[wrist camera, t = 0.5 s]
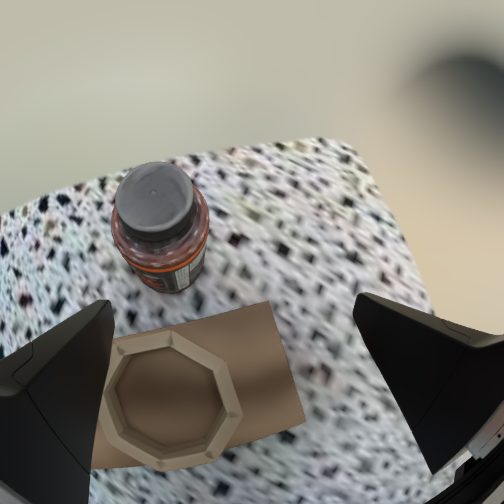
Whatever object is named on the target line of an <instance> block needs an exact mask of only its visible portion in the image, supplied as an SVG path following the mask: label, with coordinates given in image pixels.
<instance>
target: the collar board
mask: <svg viewBox="0 0 504 504" xmlns="http://www.w3.org/2000/svg"><path fill="white" fill-rule="evenodd" d="M303 422H306V419H305V416H304V413H303V409H302V406H301V403H300V400H299V397H298V393H297V390H296V387H295V384H294V380H293V377H292V374H291V371H290V368H289V364H288V361H287V358H286V355H285V352H284V348H283V345H282V342H281V339H280V336H279V332H278V329H277V326H276V323H275V319H274V316H273V313H272V310H271V307H270V303H269V301H265V302H262V303H258V304H255V305H251V306H248V307H244V308H240V309H237V310H233V311H229V312H225V313H222V314H218V315H214V316H210V317H206V318H202V319H198V320H194V321H190V322H186V323H182V324H178V325H173V326H169V327H165V328H160V329H156V330H152V331H147V332H142V333H138V334H133V335H128V336H124V337H119V338H114V339H113V342H112V349H111V357H110V364H109V369H108V373H107V377H106V381H105V386H104V391H103V395H102V400H101V405H100V410H99V416H98V421H97V427H96V433H95V440H94V447H93V454H92V463H91V469H110V468H124V467H135V466H144V465H147V466H149V467H151V468H153V469H155V470H157V471H159V472H160V470H161V472H165V471H171V470H177V469H183V468H188V467H193V466H198V465H202V464H207V463H211V462H215V460H217V459H218V457H219V456H220V454H221V452H222V451H223V450H225V449H229V448H232V447H236V446H239V445H243V444H246V443H249V442H252V441H255V440H258V439H261V438H264V437H267V436H270V435H273V434H275V433H278V432H281V431H283V430H286V429H289V428H291V427H294V426H296V425H299V424H301V423H303Z"/></svg>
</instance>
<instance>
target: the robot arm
mask: <svg viewBox="0 0 504 504" xmlns="http://www.w3.org/2000/svg"><path fill="white" fill-rule="evenodd" d="M353 318H354V320H355V322H356V325H357V327H358V329H359V331H360V334H361V336H362V338H363V340H364V343H365V345H366V347H367V349H368V351H369V352H370V354H371V356H372V358H373V360H374V361H375V363H376V365H377V367H378V369H379V370H380V372H381V374H382V376H383V378H384V379H385V381H386V383H387V385H388V387H389V389H390V391H391V392H392V394H393V396H394V398H395V400H396V402H397V404H398V406H399V408H400V410H401V412H402V413H403V415H404V417H405V419H406V421H407V423H408V425H409V427H410V429H411V431H412V434H413V436H414V438H415V440H416V442H417V444H418V446H419V448H420V450H421V452H422V454H423V456H424V459H425V461H426V463H427V465H428V467H429V469H430V472H431V473H432V475H434V474H436V473H437V472H439V471H440V470H442V469H443V468H445V467H446V466H448V465H449V464H450V463H452V462H453V461H454V460H456V459H457V458H458V457H460V456H461V455H462V454H464V453H465V452H466V451H467V450H469V452H470V453H471V454H472V457H471V458H470V459H468V460H467V461H466V462H464V463H463V464H462V465H461V466H460V467H459V468H458V469H457V470H456V472H455V478H454V483H453V484H452V485H450V486H449V487H448V488H446V489H445V490H444V491H442V492H441V493H440V494H438V495H437V496H435V497H434V498H432V499H431V500H429V501H428V502H426V503H425V504H504V334H503V335H492V334H488V333H485V332H481V331H478V330H475V329H471V328H468V327H465V326H462V325H459V324H455V323H453V322H450V321H447V320H444V319H440V318H439V317H436V316H433V315H430V314H427V313H425V312H422V311H419V310H416V309H413V308H411V307H408V306H405V305H402V304H399V303H397V302H394V301H391V300H388V299H385V298H382V297H380V296H377V295H374V294H371V293H368V292H365V293H359V294H358V295H357V298H356V301H355V305H354V309H353ZM114 328H115V321H114V316H113V311H112V306H111V302H110V301H109V300H97V301H95V302H94V303H92V304H90V305H89V306H87V307H85V308H84V309H82V310H81V311H79V312H77V313H76V314H74V315H72V316H71V317H69V318H67V319H66V320H64V321H63V322H61V323H59V324H58V325H56V326H55V327H53V328H51V329H50V330H48V331H47V332H45V333H44V334H42V335H40V336H39V337H37V338H36V339H34V340H33V341H32V342H29V343H28V344H26V345H25V346H23V347H22V348H20V349H18V350H17V351H15V352H14V353H12V354H10V355H8V356H7V357H5V358H3V359H1V360H0V504H88V499H89V485H90V472H91V463H92V454H93V447H94V440H95V433H96V427H97V421H98V416H99V410H100V405H101V400H102V395H103V391H104V386H105V381H106V377H107V373H108V369H109V364H110V357H111V349H112V342H113V335H114Z"/></svg>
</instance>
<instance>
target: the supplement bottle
mask: <svg viewBox="0 0 504 504" xmlns="http://www.w3.org/2000/svg"><path fill="white" fill-rule="evenodd" d="M208 229H209V212H208V206H207V204H206V201H205V199H204V197H203V196H202V194H201V193H200V191H199V190H198V189H197V188H196V187H195V186H194V185H193V184H192V182H191V180H190V178H189V177H188V175H187V174H186V173H185V172H184V171H183V170H182V169H181V168H179V167H177V166H175V165H173V164H171V163H167V162H150V163H146V164H143V165H140V166H138V167H136V168H134V169H133V170H131V171H130V172H129V173H128V174H127V175H126V176H125V177H124V178H123V180H122V181H121V182H120V184H119V186H118V189H117V192H116V196H115V206H114V208H113V211H112V216H111V231H112V236H113V239H114V242H115V244H116V246H117V248H118V250H119V251H120V253H121V254H122V256H123V257H124V258H125V260H126V261H127V262H128V264H129V265H130V266H131V268H132V269H133V270H134V272H135V273H136V274H137V276H138V277H139V278H140V279H141V280H142V281H143V283H144V284H146V285H147V286H149V287H150V288H152V289H154V290H156V291H159V292H163V293H174V292H178V291H181V290H183V289H186V288H187V287H189V286H190V285H191V284H193V283H194V282H195V280H196V279H197V278H198V276H199V274H200V272H201V270H202V266H203V263H204V256H205V249H206V242H207V236H208Z"/></svg>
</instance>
